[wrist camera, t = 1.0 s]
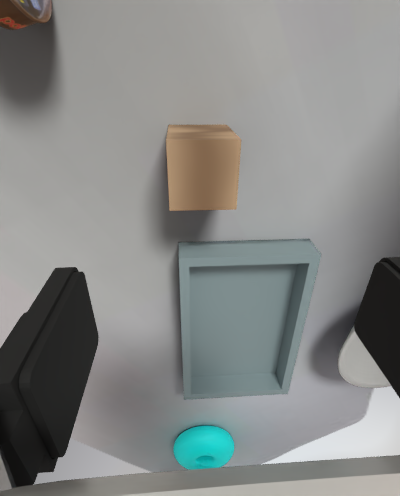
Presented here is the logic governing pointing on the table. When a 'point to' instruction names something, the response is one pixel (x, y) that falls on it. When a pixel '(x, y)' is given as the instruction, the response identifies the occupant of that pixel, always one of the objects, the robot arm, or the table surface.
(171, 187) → the block
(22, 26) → the tin
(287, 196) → the table surface
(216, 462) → the donuts
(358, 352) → the dish
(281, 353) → the tray
